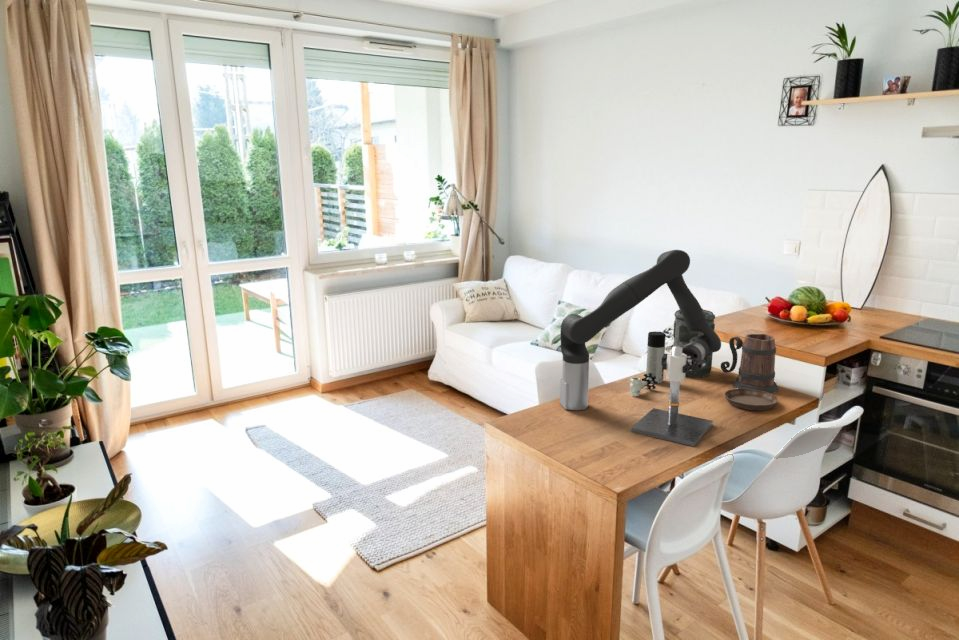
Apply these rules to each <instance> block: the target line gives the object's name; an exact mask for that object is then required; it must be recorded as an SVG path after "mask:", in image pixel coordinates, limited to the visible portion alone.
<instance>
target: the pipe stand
mask: <svg viewBox="0 0 959 640" xmlns="http://www.w3.org/2000/svg"><path fill="white" fill-rule="evenodd" d="M672 346H673V347H672V348H671V352H672V356H677V357H679V356H682V347H681V346H674V345H672ZM680 388H681V381H679V382H675V381H670V382H669V397H668V399H669V400H668V410H665V409H664V410H663V409H660V408H655V407H654V408H653V407H652V409H651V410H650V411H648V412H647V413H646V414H645V415H644V416H643V417H641V418H640V419H639V420H638V421H637V422H636V423H634V424H633V425H632V426H631V430H630V432H632V433H636V434H639V435H644V436H647V437H652V438H656V439H661V440H664V441H668V442H669V441H670V442H673V443H678V444H681V445H686V446H690V447H695V446H696V445H697V444H698V443H699V441H701V439H702V438H703V437H704V436H705V434H707V432H708V431H709V430H710V429H711V427H712V426H714V425H713V423H714V420H711V419H706V418H703V417H702V418H701V417H698V416H697V417H696V416H693V415H688V414H684V413H679V407H680V390H681V389H680Z"/></svg>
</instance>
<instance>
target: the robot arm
mask: <svg viewBox="0 0 959 640" xmlns="http://www.w3.org/2000/svg"><path fill="white" fill-rule="evenodd" d="M690 265H691V257H690V255H689V254H688V253H687V252H686V251H684V250H681V249H672V250H668V251H665V252H662V253H661V254H660V255H659V256H658V257H657V259H656V264H655V265H653V266H652V267H650V268H649V269H647V270H645V271H642V272H641V273H638V274H636V275H634V276H631V277H630V278H629V279H626V280H625V281H623V282H621V283H620V284H618V285H617V286H616V287H614V288H613V289H612V290H610V291H609V293H608V294H607V295H606V296H605V298H604V299H603V301H602V302H601V304H600V305H599V306H598V307H597V308H596V309H594V310H593V311H591V312H589V313H588V314H585V315H584V316H581V315H579V314H577V313H571V314H567V316H565V317H564V318H563V320H562V322H561V325H560V350H561V354H562V378H561V379H560V380H559V381H560V383H559V385H560V386H559V390H560V391H559V393H560V394H559V405H561V407H563V409H564V410H568V411H569V410H570V411H582V410H586V409H588V407H589V405H588V404H589V375H590V374H589V372H590V353H589V351H588V348H587V346H586V343H588V342H589V341H590V340H592V339H593V338H594V337H595V336H597V334H599V333H600V332H601V331H603V329H604V328H606V327H607V326H609V324H611V323H612V322H613V321H616V320H617V319H618V318H620V317H621V316H623V315H624V314H625V313H627V312H629V311H631V310H632V309H634V308H635V307H636V306H637V305H639V304H640V303H641V302H643V301H644V300H646V299H647V298H648V297H649V296H651V295H652V294H653V293H655V292H656V291H657V290H658V289H660V288H661V287H662V286H664V285H666V286H667V287H668V288H669V290H670V292H671V294H672V296H673V298H674V300H675V301H676V304H677V306H678V310H680V311H681V313H682V316H683V318H684V321H685V323H686V326H687V328H688V330H689V331H700V332H702V333H703V334H704V335H701V336H697V337H694V338H692V339H691V340H690V342H689V344H687V345H685V346H684V347H682V353H684V354H685V355H687V358H686V364H685V365H684V366H683V373H686V372H688V371H692V369H694V371H699V370H701V369H703V368H705V362H706V360H703V359H704V358H705V357H706V356H707V355H708V354H709V353H716V352H719V351H720V350H721V348H722V341H721V338H720V336H719V335H718V334H717V332H716V330H715V329H714V330H713V329H712V328H711V326H710V325H709V323H708V322H707V320H706V318H705V315H704V313H703V310H704V309H703V308H702V306H701V304H700V302H699V301H698V299H697V298H696V296H695V295H694V294H693V292H692V291H691V290H690V288H689V287H688V285H687V283H686V281H685V279H684V276H683V275H684V274H685V273H686V272H688V269H689V268H690ZM702 309H703V310H702ZM667 354H668V353H665V354H664V355H663V357H662V362H661V365H662V366H663V368H664V370H666V368H667Z"/></svg>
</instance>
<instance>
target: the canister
mask: <svg viewBox="0 0 959 640" xmlns="http://www.w3.org/2000/svg"><path fill="white" fill-rule="evenodd" d="M702 310H703V313H704V315H705V318H706V320H707V322H708V323H709V325H710V326H711V328H712V329H713V330H714V331H715V326H716V324H715V319H716V315H715V314H714V313H713V311H710V310H707V309H703V308H702ZM672 335H673V336H672V337H673V345H672V347H673V346H681V347H684V346H685V345H687V344H689V342H690V340H691V339H692V338H694V337H697V336H701V335H704V334H703V333H702V332H700V331H689V330H688V328H687V326H686V323H685V321H684V318H683V316H682V313H681V311H680V309H677V310H676V311H675V312H674V321H673V333H672ZM713 353H714V352H713ZM713 353H709V354H708V355H707V356H706V357H705V358H704V359H703V360H706V362H705V368H703V369H701V370H699V371H694V369H692V371H688V372H686V373H685V377H692V378H705V377H708V376H710V375H711V373H712V369H713V367H712V364H713V356H714V355H713Z"/></svg>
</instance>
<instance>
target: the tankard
mask: <svg viewBox="0 0 959 640" xmlns="http://www.w3.org/2000/svg"><path fill="white" fill-rule="evenodd" d="M735 341H736V342H735ZM728 344H729V348H730V352H731V354H732V363H731V364H730V362H729V361H727V360H726V361H722V362H721V363H720V370H721V371H722V372H723V373H725V374H728V373H731V372H733V371H735V369H736V366H737V364H738V351H737V350H740V349H741V356H740V364H739V367H738V377H736V378H734V379H735V380H733V382H732V383H731V384H732V386H733V387H734V389H737V388H738V389H754V390H760V391H764V392H768V393H770V394H775V393H777V391H778V390H779V391H780V387H779V386H778V385H777V382H775V378H776V371H775V370H776V369H775V364H776V353H777V347H776V341H775V337H774V336H772V335H770V334H767V333H749V334H746V335H745V337H744V341H743V340H742V339H741V337H739V336H734V337H733V336H732V337H731V338H730V339H729V343H728ZM735 344H736V345H735ZM730 365H731V366H730ZM778 387H779V388H778ZM779 391H778V392H779ZM774 392H775V393H774Z"/></svg>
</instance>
